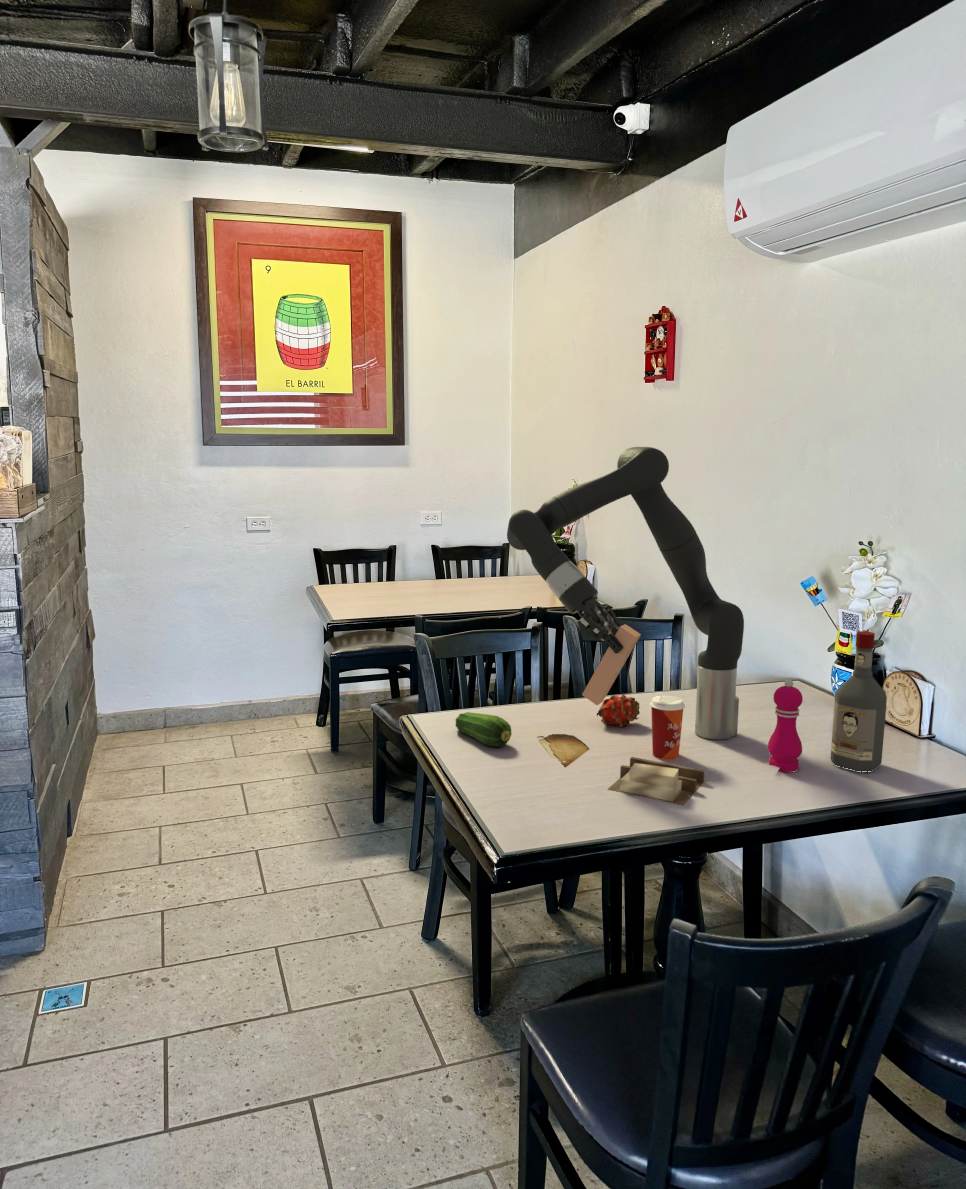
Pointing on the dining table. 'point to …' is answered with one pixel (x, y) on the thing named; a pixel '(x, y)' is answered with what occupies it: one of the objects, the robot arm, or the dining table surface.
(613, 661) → the terracotta block
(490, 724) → the vegetable
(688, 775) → the walnut rack
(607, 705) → the dragon fruit
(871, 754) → the liquor
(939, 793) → the dining table surface
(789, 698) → the pepper mill
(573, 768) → the dining table surface
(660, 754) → the paper cup
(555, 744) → the parchment
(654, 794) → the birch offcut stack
